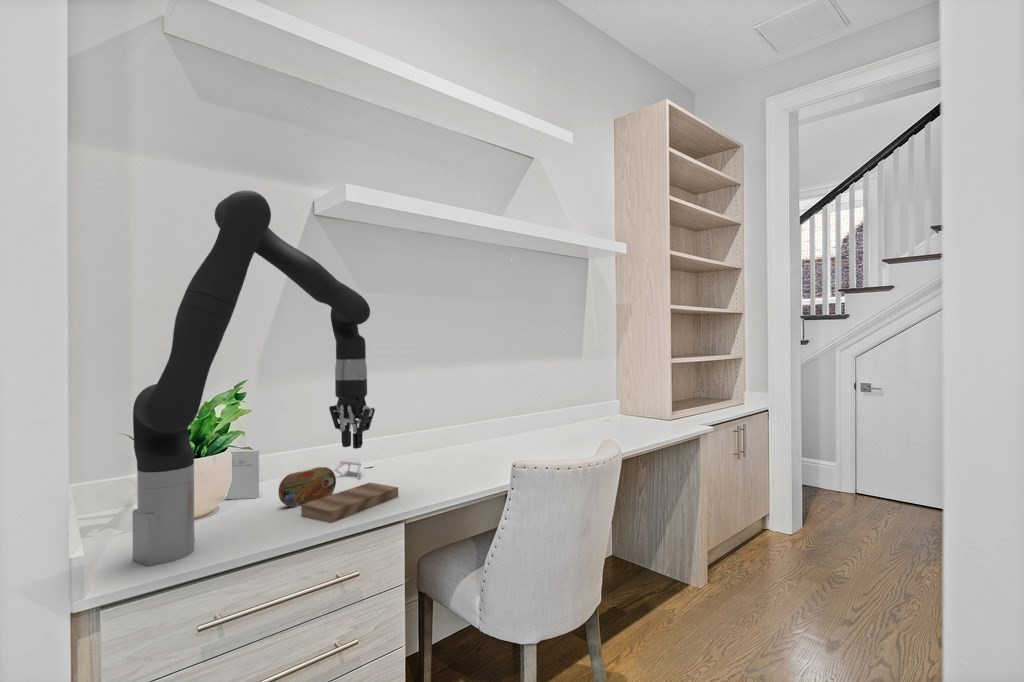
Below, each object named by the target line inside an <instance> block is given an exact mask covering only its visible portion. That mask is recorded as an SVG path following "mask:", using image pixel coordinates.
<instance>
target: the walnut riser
mask: <svg viewBox="0 0 1024 682" xmlns="http://www.w3.org/2000/svg"><path fill="white" fill-rule="evenodd" d="M398 497H399V487H398V486H393V485H387V484H381V483H375V482H366V483H364V484H360V485H359V486H355V487H352V488H348V489H346V490H343V491H340V492H337V493H334V494H331V495H330V496H327V497H324V498H321V499H317V500H314V501H311V502H308V503H305V504H302V505H301V508H300V510H301V512H300V513H301V515H300V517H302V518H306V519H310V520H315V521H320V522H324V523H329V524H333V523H335V522H337V521H340V520H344V519H345V518H348V517H350V516H353V515H355V514H358V513H361V512H364V511H366V510H368V509H371V508H373V507H376V506H379V505H381V504H384V503H386V502H388V501H391V500H393V499H397V498H398ZM365 509H366V510H365Z"/></svg>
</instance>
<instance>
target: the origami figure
mask: <svg viewBox="0 0 1024 682" xmlns="http://www.w3.org/2000/svg"><path fill="white" fill-rule="evenodd" d="M344 465H347V472H348V473H350V469H351V466H357V471H356V475H357V476H356V477H355V479H358V478H359V477H360V474H361V466H362V463H361V461H360V459H359V458H355V457H345V458H344V459H343V460H341V461H339V464H338V465H337V466H336V467H335V468H334V469H333V472H336V473H337V474H339V475H340V476H338V477H339V478H342V477H344V476H345V474H344V473H342V472H341V471H339V469H341V468H342V467H343V466H344Z"/></svg>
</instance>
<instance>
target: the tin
mask: <svg viewBox="0 0 1024 682" xmlns="http://www.w3.org/2000/svg"><path fill="white" fill-rule="evenodd" d="M334 472H335V471H334V470H332V469H331V468H329V467H326V466H323V467H322V466H321V467H320V466H317V467H314V468H313V467H312V468H309V469H306V470H305V469H304V470H302V471H297V472H291V473H289V474H287V475H286V476H285V477H284V478H283V479H282V480H281V481H280V483H279V487H278V497H279V500H280V502H281V503H282V504H284V506H287V507H291V508H297V507H300V506H301V505H302V504H305V503H308V502H311V501H314V500H317V499H321V498H324V497H327V496H330V495H333V494H332V493H334V491H335V488H336V484H337V477H336V474H335V473H334Z"/></svg>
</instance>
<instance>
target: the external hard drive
mask: <svg viewBox="0 0 1024 682" xmlns="http://www.w3.org/2000/svg"><path fill="white" fill-rule="evenodd" d="M229 451H230V452H231V454H232V482H231V485H230V488H229V490H228V493H227V496H226V499H225V500H235V499H236V500H239V499H258V498H259V497H260V467H259V466H260V463H259V462H260V450H259V449H246V450H245V449H242V450H241V449H240V450H239V449H238V450H237V449H236V450H235V449H234V450H229Z"/></svg>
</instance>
